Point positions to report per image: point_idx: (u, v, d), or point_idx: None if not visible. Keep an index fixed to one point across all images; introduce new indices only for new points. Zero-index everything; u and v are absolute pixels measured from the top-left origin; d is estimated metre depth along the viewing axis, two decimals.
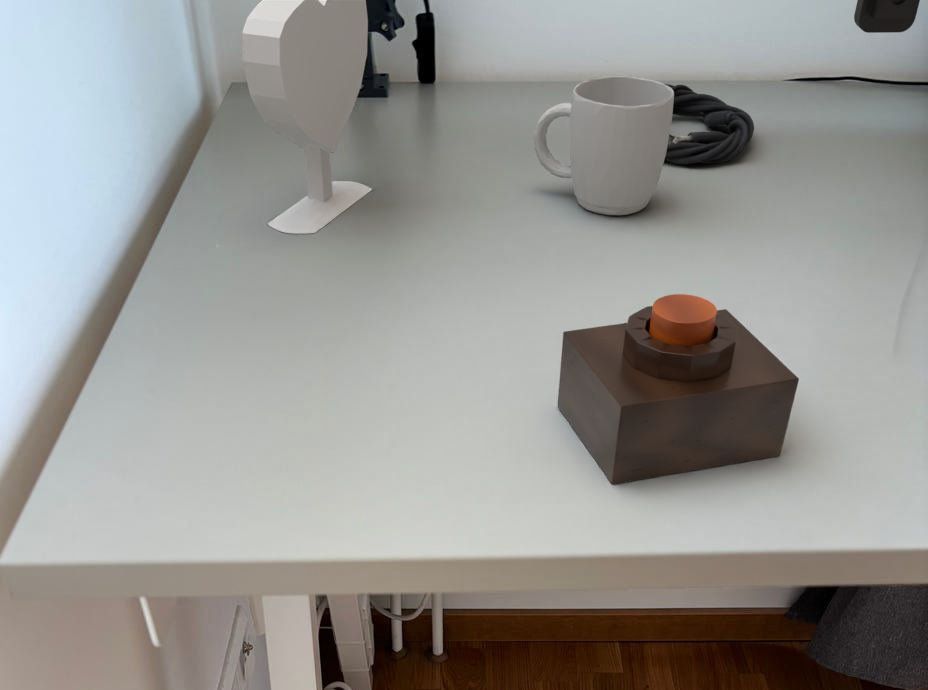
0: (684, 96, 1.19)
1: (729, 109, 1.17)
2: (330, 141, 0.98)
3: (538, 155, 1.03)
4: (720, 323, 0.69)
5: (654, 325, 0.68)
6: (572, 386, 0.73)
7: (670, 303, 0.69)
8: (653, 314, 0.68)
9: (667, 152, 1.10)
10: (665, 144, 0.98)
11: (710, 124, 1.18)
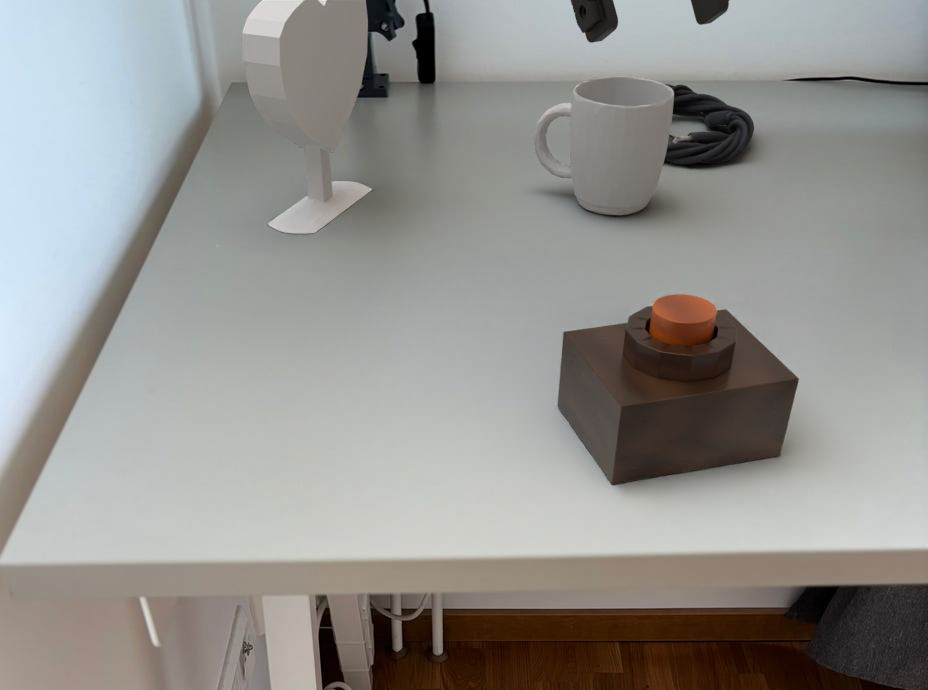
0: (684, 96, 1.19)
1: (729, 109, 1.17)
2: (330, 141, 0.98)
3: (538, 155, 1.03)
4: (720, 323, 0.69)
5: (654, 325, 0.68)
6: (572, 386, 0.73)
7: (670, 303, 0.69)
8: (653, 314, 0.68)
9: (667, 152, 1.10)
10: (665, 144, 0.98)
11: (710, 124, 1.18)
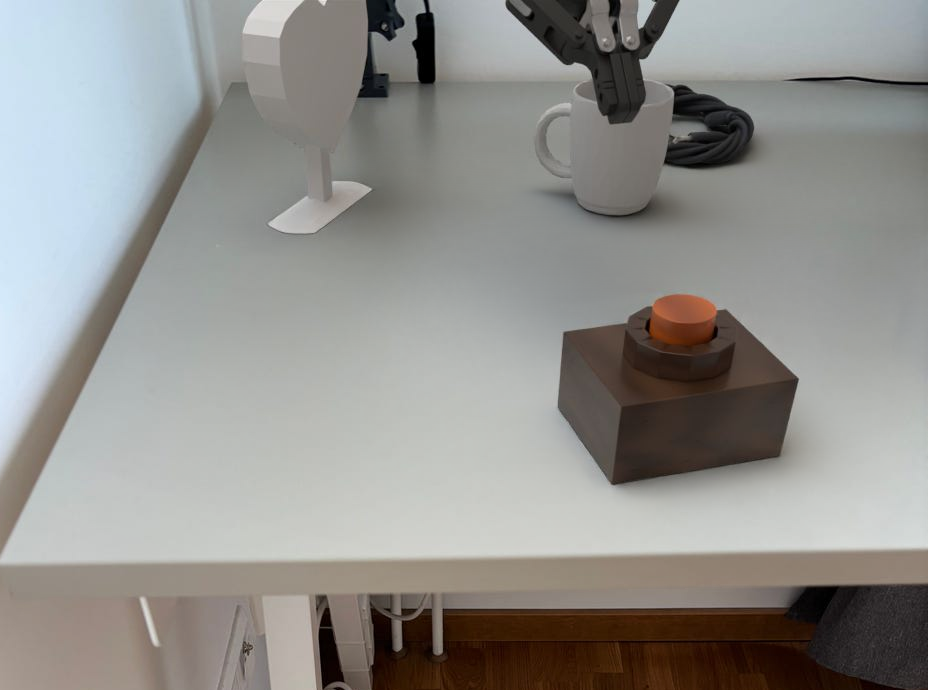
0: (684, 96, 1.19)
1: (729, 109, 1.17)
2: (330, 141, 0.98)
3: (538, 155, 1.03)
4: (720, 323, 0.69)
5: (654, 325, 0.68)
6: (572, 386, 0.73)
7: (670, 303, 0.69)
8: (653, 314, 0.68)
9: (667, 152, 1.10)
10: (665, 144, 0.98)
11: (710, 124, 1.18)
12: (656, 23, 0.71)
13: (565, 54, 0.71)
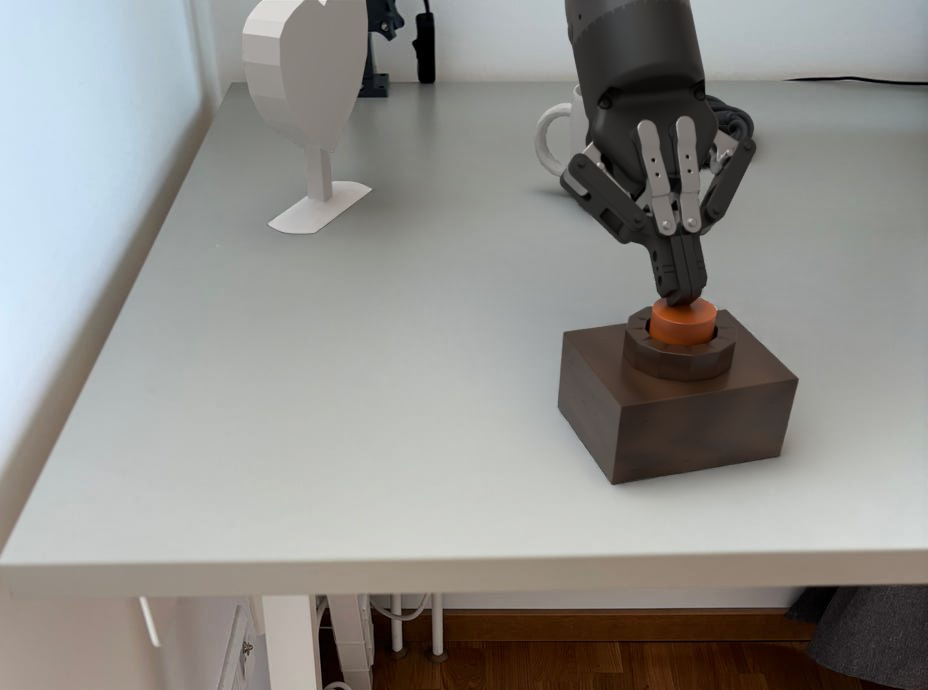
0: None
1: (729, 109, 1.17)
2: (330, 141, 0.98)
3: (538, 155, 1.03)
4: (720, 323, 0.69)
5: (654, 326, 0.68)
6: (572, 386, 0.73)
7: None
8: (653, 315, 0.68)
9: None
10: None
11: None
12: (718, 203, 0.67)
13: (622, 235, 0.67)
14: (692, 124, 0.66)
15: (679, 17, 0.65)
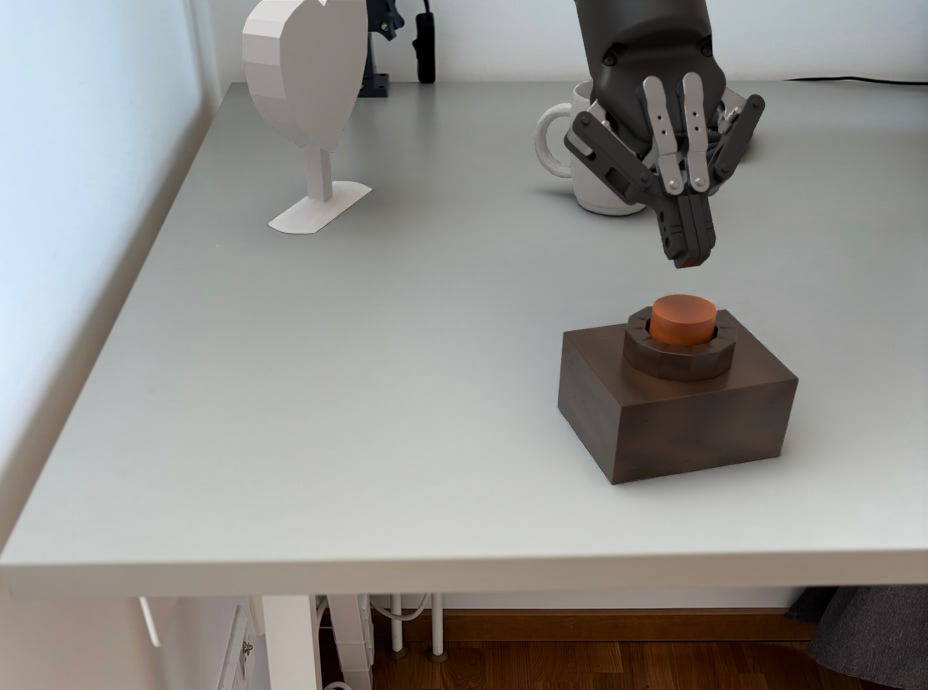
0: None
1: None
2: (330, 141, 0.98)
3: (538, 155, 1.03)
4: (720, 323, 0.69)
5: (654, 325, 0.68)
6: (572, 386, 0.73)
7: (670, 303, 0.69)
8: (653, 314, 0.68)
9: None
10: None
11: (710, 124, 1.18)
12: (726, 162, 0.65)
13: (628, 195, 0.66)
14: (699, 80, 0.65)
15: None
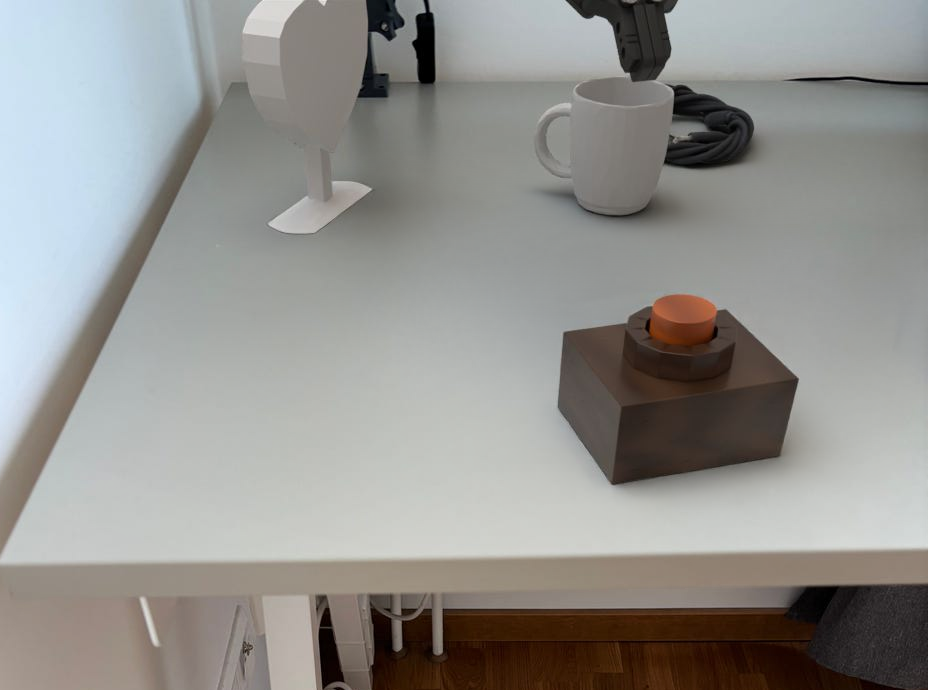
0: (684, 96, 1.19)
1: (729, 109, 1.17)
2: (330, 141, 0.98)
3: (538, 155, 1.03)
4: (720, 323, 0.69)
5: (654, 325, 0.68)
6: (572, 386, 0.73)
7: (670, 303, 0.69)
8: (653, 314, 0.68)
9: (667, 152, 1.10)
10: (665, 144, 0.98)
11: (710, 124, 1.18)
12: None
13: (585, 6, 0.66)
14: None
15: None
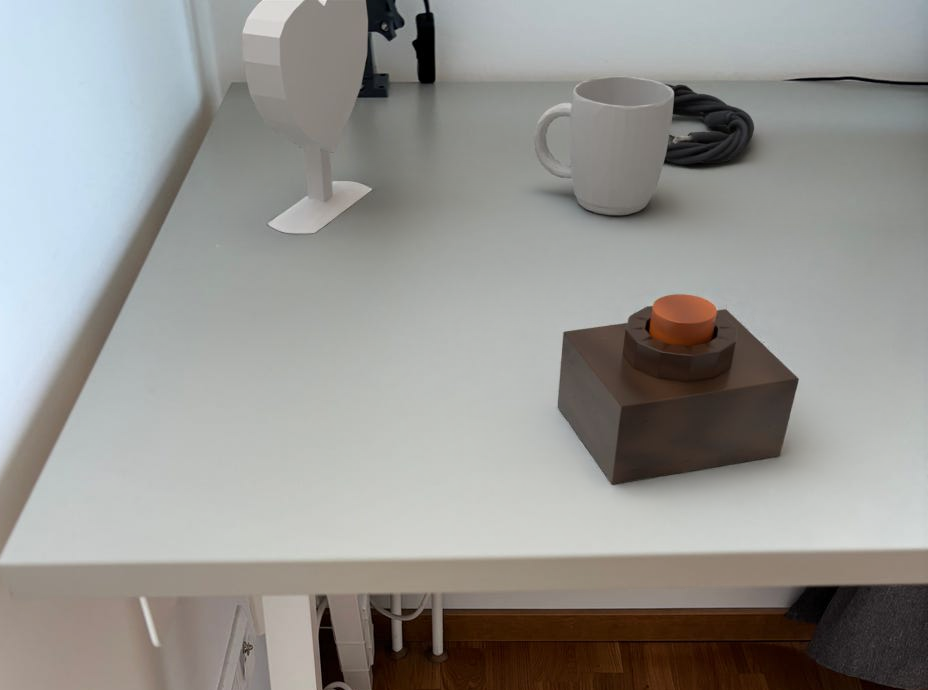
0: (684, 96, 1.19)
1: (729, 109, 1.17)
2: (330, 141, 0.98)
3: (538, 155, 1.03)
4: (720, 323, 0.69)
5: (654, 325, 0.68)
6: (572, 386, 0.73)
7: (670, 303, 0.69)
8: (653, 314, 0.68)
9: (667, 152, 1.10)
10: (665, 144, 0.98)
11: (710, 124, 1.18)
12: None
13: None
14: None
15: None
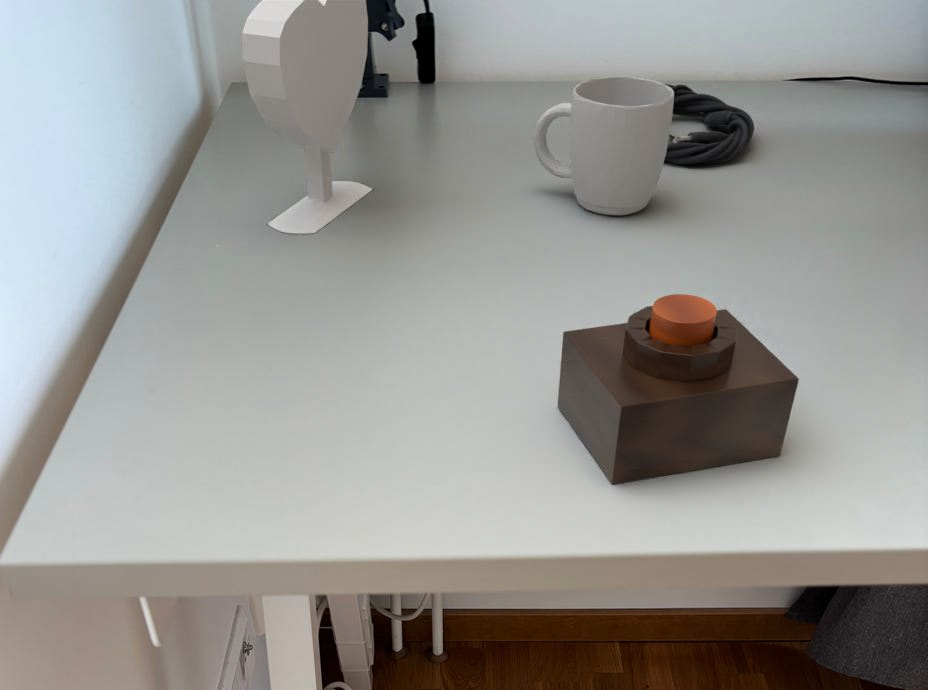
0: (684, 96, 1.19)
1: (729, 109, 1.17)
2: (330, 141, 0.98)
3: (538, 155, 1.03)
4: (720, 323, 0.69)
5: (654, 325, 0.68)
6: (572, 386, 0.73)
7: (670, 303, 0.69)
8: (653, 314, 0.68)
9: (667, 152, 1.10)
10: (665, 144, 0.98)
11: (710, 124, 1.18)
12: None
13: None
14: None
15: None
